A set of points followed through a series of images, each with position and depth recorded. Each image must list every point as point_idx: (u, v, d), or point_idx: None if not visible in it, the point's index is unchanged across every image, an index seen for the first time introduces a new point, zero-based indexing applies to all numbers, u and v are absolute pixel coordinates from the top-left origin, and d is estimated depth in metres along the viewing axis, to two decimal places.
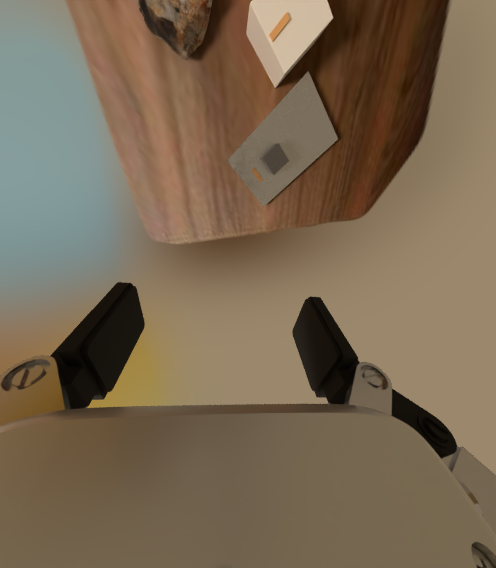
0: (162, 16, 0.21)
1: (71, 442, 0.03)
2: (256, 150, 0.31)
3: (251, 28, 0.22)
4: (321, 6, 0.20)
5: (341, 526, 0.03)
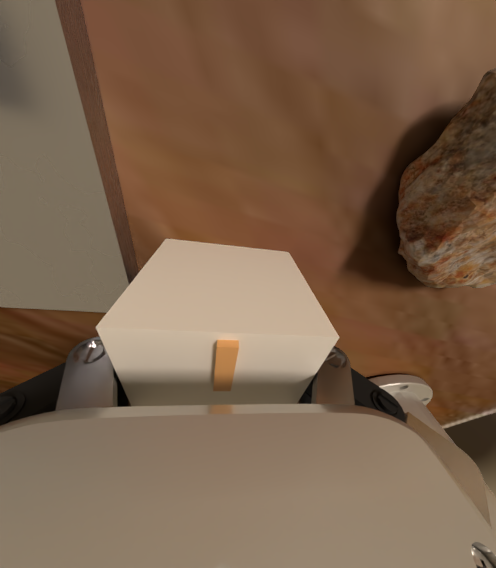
0: None
1: (71, 442, 0.03)
2: None
3: (290, 278, 0.08)
4: None
5: (341, 526, 0.03)
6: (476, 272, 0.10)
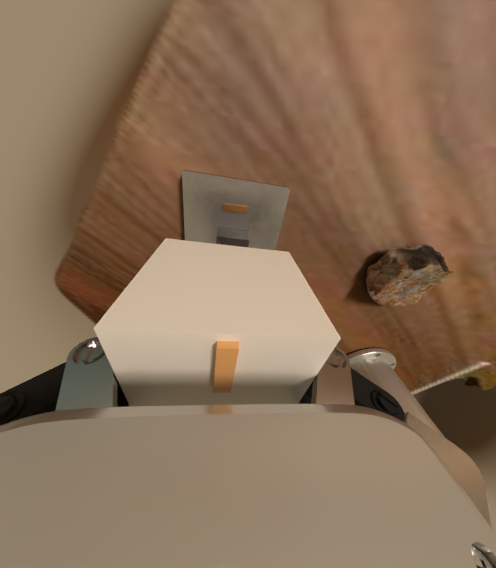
0: (424, 268, 0.20)
1: (71, 442, 0.03)
2: (259, 233, 0.20)
3: (290, 278, 0.08)
4: None
5: (341, 526, 0.03)
6: (398, 300, 0.26)
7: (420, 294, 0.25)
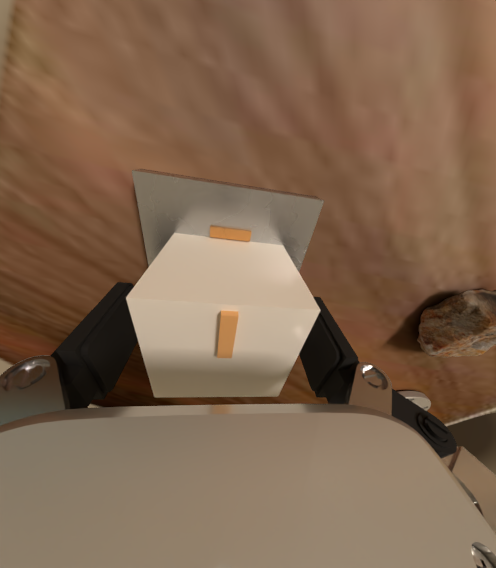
0: None
1: (71, 442, 0.03)
2: None
3: (283, 266, 0.09)
4: (184, 391, 0.09)
5: (341, 526, 0.03)
6: (454, 352, 0.20)
7: (488, 347, 0.19)
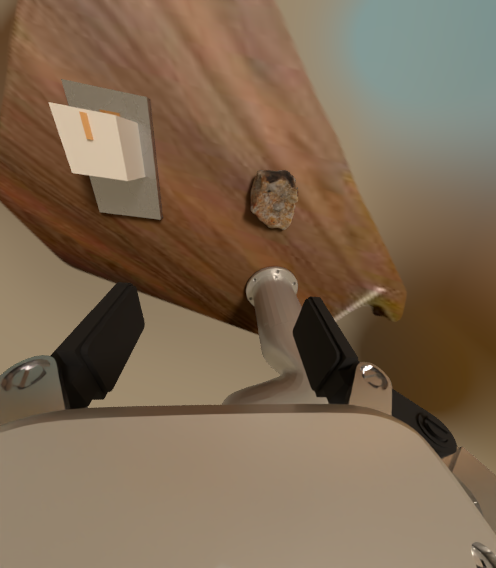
0: (276, 181, 0.29)
1: (71, 442, 0.03)
2: None
3: None
4: (83, 168, 0.23)
5: (341, 526, 0.03)
6: (277, 221, 0.34)
7: (290, 215, 0.33)
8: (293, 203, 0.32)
